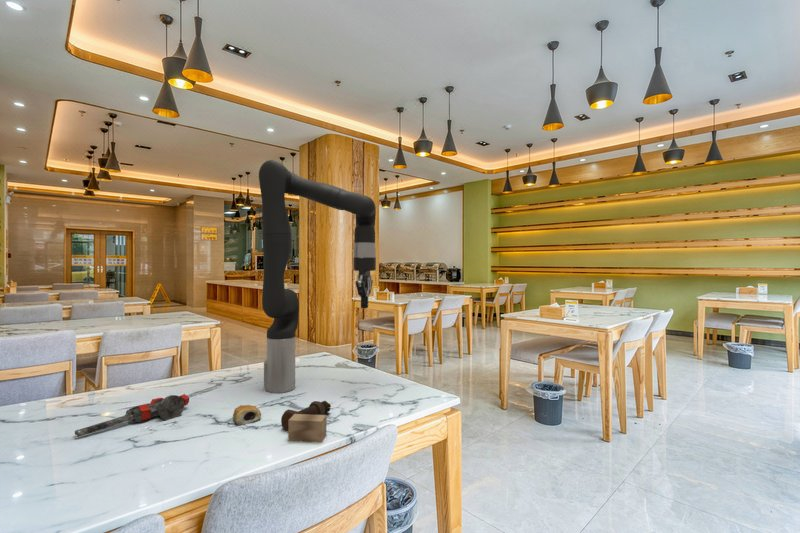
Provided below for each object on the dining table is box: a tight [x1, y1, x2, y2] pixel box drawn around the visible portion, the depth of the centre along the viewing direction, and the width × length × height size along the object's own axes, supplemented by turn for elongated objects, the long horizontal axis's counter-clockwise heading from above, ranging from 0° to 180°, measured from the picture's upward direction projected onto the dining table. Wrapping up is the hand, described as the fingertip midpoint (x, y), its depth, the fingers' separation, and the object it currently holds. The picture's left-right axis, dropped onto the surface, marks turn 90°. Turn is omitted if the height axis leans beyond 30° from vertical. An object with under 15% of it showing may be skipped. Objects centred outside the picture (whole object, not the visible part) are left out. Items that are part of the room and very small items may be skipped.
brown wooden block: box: [287, 414, 327, 443], centre depth 94 cm, size 8×4×5 cm, turn 85°
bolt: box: [280, 400, 332, 432], centre depth 105 cm, size 6×5×15 cm
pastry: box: [232, 404, 262, 426], centre depth 107 cm, size 9×7×4 cm
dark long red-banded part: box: [74, 393, 190, 438], centre depth 105 cm, size 6×26×15 cm
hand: (364, 308), depth 133 cm, fingers closed
